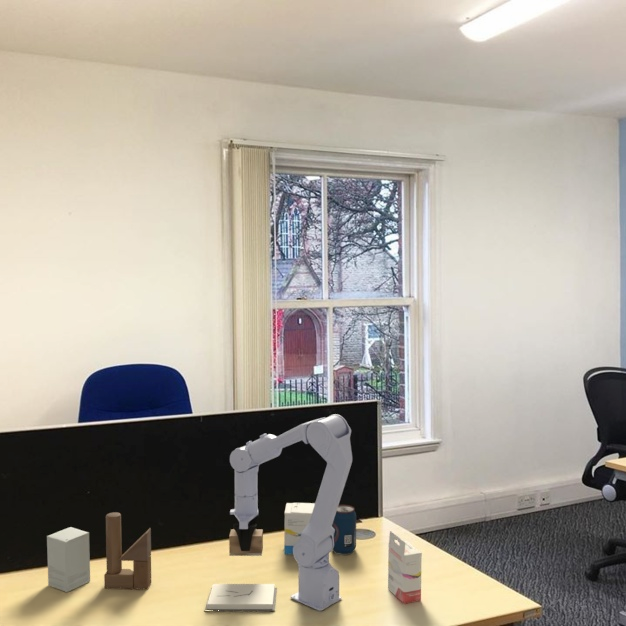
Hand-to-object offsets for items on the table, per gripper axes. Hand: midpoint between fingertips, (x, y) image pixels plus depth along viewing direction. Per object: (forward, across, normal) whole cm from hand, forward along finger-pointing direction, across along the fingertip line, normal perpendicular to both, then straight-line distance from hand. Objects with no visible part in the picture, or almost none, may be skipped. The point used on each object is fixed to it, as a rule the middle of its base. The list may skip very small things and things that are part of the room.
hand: (246, 546), depth 174 cm
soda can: (+9, -17, +25) cm, 32 cm away
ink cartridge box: (+9, +8, +39) cm, 40 cm away
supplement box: (+9, +3, -44) cm, 45 cm away
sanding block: (+1, 0, 0) cm, 1 cm away
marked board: (+8, +11, 0) cm, 14 cm away
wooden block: (+9, +4, -29) cm, 30 cm away
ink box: (+9, -19, +13) cm, 25 cm away
